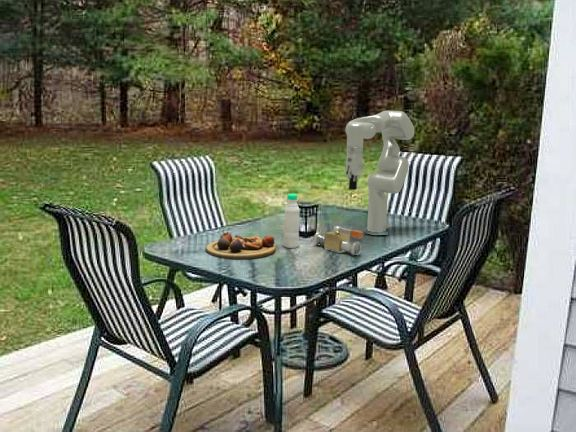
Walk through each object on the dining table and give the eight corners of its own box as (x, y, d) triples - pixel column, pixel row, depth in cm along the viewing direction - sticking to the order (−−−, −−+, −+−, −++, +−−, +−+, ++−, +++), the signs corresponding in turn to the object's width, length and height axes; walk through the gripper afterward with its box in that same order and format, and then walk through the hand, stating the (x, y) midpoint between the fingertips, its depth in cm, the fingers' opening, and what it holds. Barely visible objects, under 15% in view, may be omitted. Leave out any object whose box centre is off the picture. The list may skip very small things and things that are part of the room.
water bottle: (280, 247, 292) (282, 194, 286) (287, 243, 298) (289, 192, 292) (294, 249, 289) (295, 196, 283) (301, 245, 295) (302, 193, 289)
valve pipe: (322, 243, 300) (323, 226, 298) (361, 254, 283) (362, 236, 281) (312, 246, 295) (313, 228, 293) (351, 257, 278) (352, 238, 276)
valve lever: (363, 237, 278) (363, 231, 278) (358, 238, 276) (358, 232, 275) (337, 230, 290) (337, 225, 289) (331, 232, 287) (332, 226, 286)
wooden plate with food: (283, 245, 297) (283, 228, 295) (264, 262, 267) (264, 243, 265) (220, 240, 305) (220, 224, 303) (195, 257, 274) (194, 239, 273)
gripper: (355, 152, 281) (353, 192, 285) (368, 149, 293) (366, 188, 297) (340, 151, 284) (338, 190, 288) (354, 148, 297) (352, 186, 301)
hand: (352, 189), depth 293 cm, fingers closed
